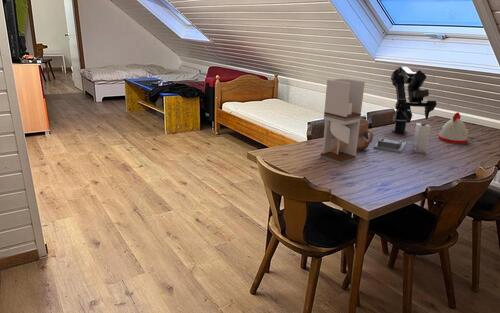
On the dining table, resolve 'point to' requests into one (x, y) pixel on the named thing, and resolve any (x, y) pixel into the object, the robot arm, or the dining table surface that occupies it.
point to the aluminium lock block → (421, 137)
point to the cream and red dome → (454, 131)
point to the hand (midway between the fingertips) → (417, 118)
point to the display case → (342, 119)
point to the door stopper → (367, 132)
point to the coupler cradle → (390, 145)
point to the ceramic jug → (362, 141)
